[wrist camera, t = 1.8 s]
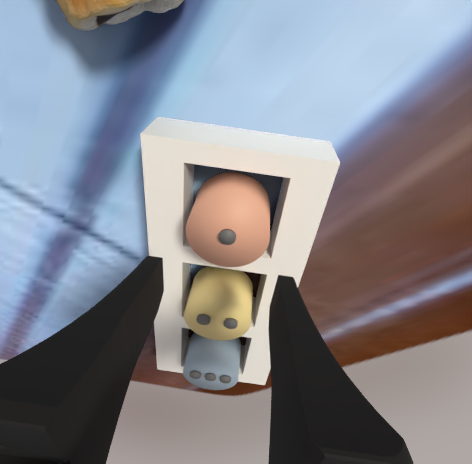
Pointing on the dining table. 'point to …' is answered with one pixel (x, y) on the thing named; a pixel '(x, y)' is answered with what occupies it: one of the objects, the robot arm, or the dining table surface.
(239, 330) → the mustard button
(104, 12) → the pastry
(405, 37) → the dining table surface
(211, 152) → the button panel
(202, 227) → the terracotta button
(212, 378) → the slate button
